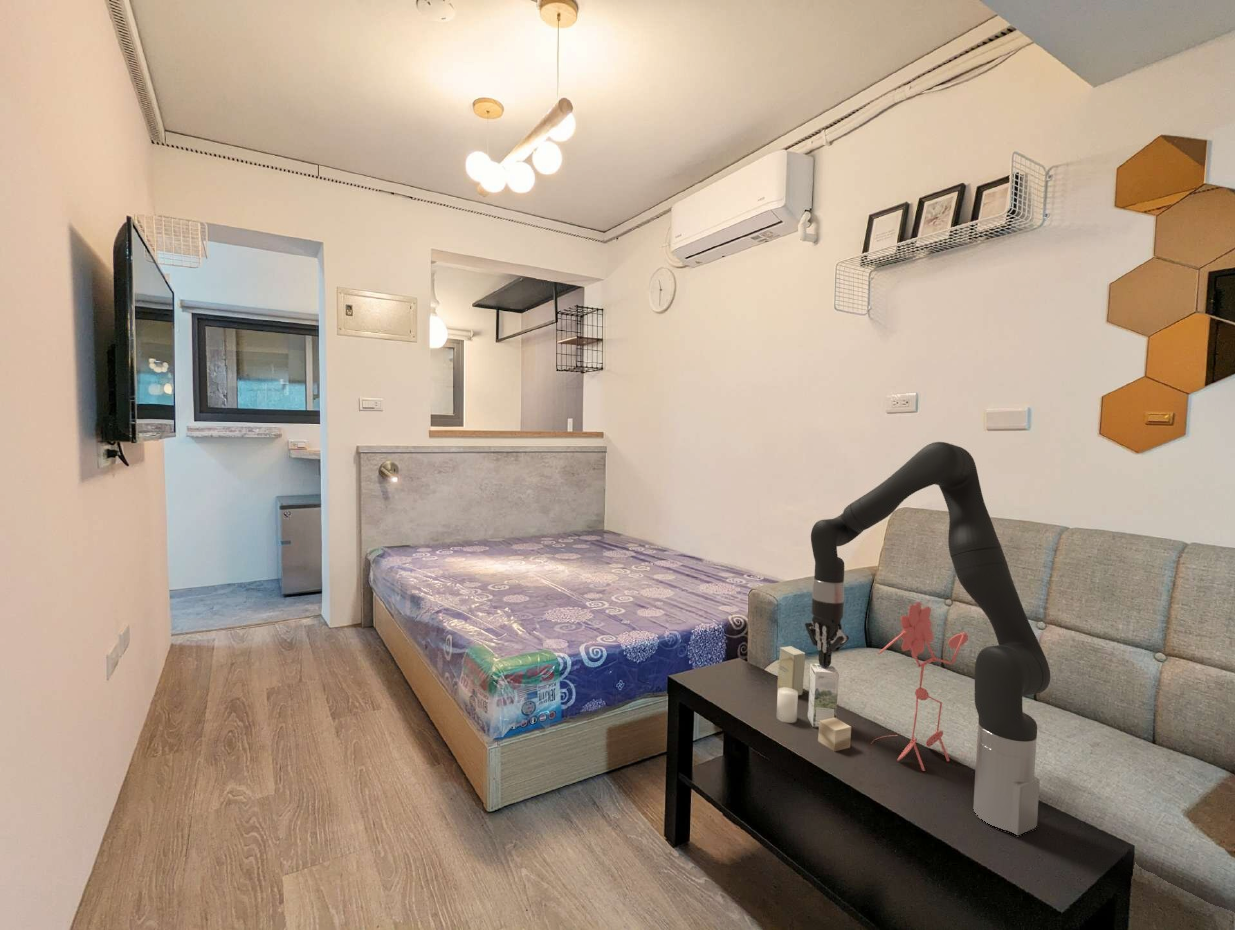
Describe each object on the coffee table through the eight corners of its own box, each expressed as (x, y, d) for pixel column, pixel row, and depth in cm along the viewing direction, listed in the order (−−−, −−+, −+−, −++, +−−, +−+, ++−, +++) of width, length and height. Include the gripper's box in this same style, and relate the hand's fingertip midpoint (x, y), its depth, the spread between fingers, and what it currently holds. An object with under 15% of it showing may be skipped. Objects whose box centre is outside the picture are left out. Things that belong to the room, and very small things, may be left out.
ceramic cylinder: (800, 720, 147) (802, 693, 147) (785, 724, 145) (786, 696, 145) (787, 712, 152) (788, 686, 151) (772, 715, 149) (773, 688, 149)
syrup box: (829, 719, 149) (832, 663, 148) (836, 730, 143) (839, 672, 142) (807, 717, 149) (809, 661, 149) (812, 728, 143) (815, 670, 143)
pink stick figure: (974, 754, 133) (979, 604, 133) (903, 782, 121) (909, 616, 120) (912, 727, 147) (916, 590, 146) (843, 749, 134) (847, 599, 134)
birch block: (850, 747, 135) (851, 726, 134) (834, 751, 132) (835, 730, 132) (833, 737, 139) (834, 717, 139) (818, 741, 137) (819, 720, 137)
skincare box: (776, 688, 167) (778, 647, 166) (788, 686, 169) (790, 645, 168) (791, 697, 161) (793, 654, 161) (803, 695, 163) (806, 652, 163)
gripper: (859, 603, 141) (856, 673, 141) (819, 590, 153) (816, 654, 153) (837, 606, 138) (833, 677, 138) (797, 592, 149) (794, 658, 150)
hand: (824, 665), depth 146 cm, fingers closed
